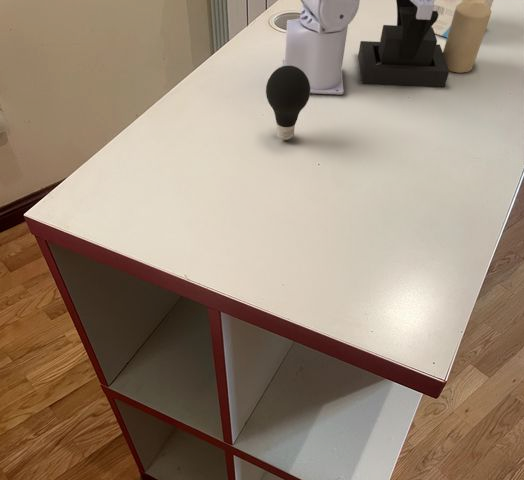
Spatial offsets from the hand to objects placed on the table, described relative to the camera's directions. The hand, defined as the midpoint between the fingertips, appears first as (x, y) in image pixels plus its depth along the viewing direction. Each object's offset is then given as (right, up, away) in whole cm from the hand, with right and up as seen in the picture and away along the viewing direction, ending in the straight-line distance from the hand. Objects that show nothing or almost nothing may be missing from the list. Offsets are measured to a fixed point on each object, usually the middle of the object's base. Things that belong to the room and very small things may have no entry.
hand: (404, 50), depth 84 cm
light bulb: (-20, -19, -10) cm, 29 cm away
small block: (0, -1, +1) cm, 1 cm away
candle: (+10, 0, +5) cm, 11 cm away
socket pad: (0, -2, +3) cm, 3 cm away
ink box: (+13, +11, +13) cm, 21 cm away
